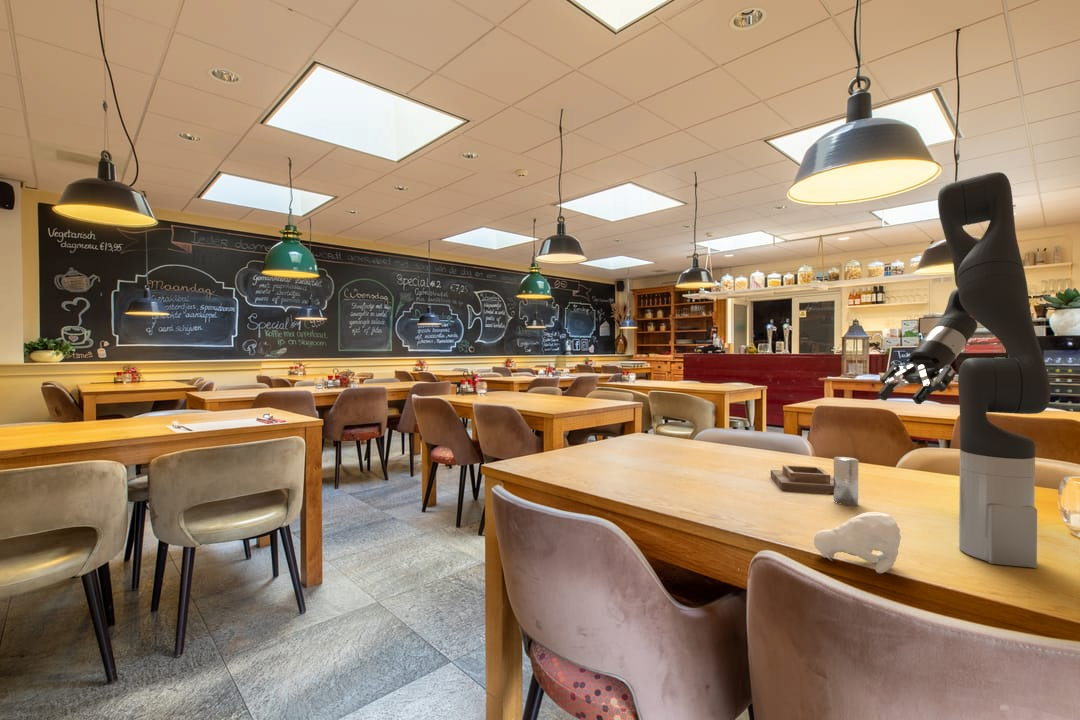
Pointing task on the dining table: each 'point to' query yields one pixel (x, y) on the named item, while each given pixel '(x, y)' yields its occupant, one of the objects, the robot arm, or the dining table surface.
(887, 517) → the white animal figurine
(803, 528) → the dining table surface
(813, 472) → the plate
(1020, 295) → the robot arm
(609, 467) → the dining table surface
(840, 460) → the steel canister
